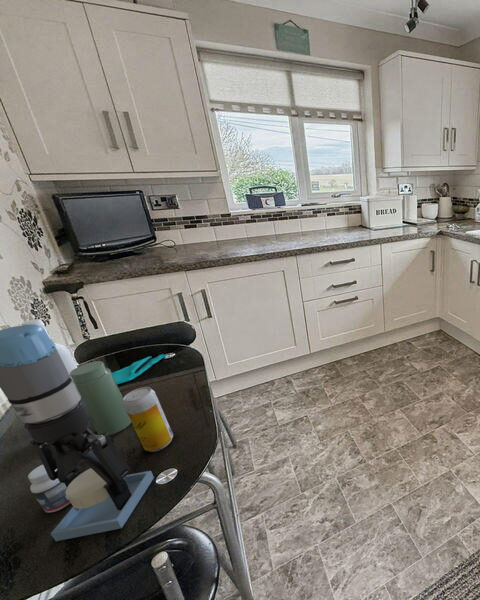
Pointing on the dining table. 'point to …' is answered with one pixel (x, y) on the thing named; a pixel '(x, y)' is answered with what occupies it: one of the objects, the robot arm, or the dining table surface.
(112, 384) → the flask
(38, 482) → the pill bottle
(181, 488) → the dining table surface
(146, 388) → the beer can
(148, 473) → the dish
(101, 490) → the flask lid
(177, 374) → the dining table surface
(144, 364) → the turquoise rubber glove
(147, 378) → the dining table surface
